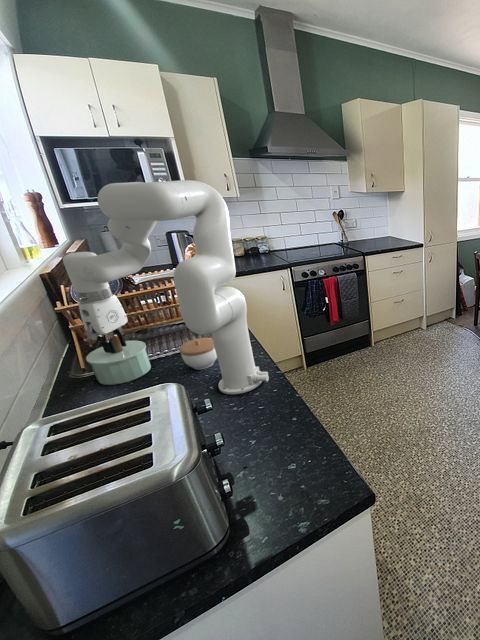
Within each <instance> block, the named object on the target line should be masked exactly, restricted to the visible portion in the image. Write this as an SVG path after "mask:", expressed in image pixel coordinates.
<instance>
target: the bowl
mask: <svg viewBox="0 0 480 640" xmlns="http://www.w3.org/2000/svg"><path fill="white" fill-rule="evenodd" d="M89 365H90V367H91V369H92V373H93V375H94V377H95V378H96V380H97V382H98V383H99V384H102V385H106V386H107V385H109V386H111V385H119V384H124V383H128V382H131V381H134V380H137V379H139V378H141V377H142V376H144V375H146V374H147V373H148V372H149V371H150V370H151V368H152V365H151V360H150V358H149V355H148V352H147V349H145V350H144V351H143V352H142V353H140V354H139V355H137V356H135V357H133V358H130V359H127V360H124V361H121V362H117V363H112V364H105V365H94V364H90V363H89Z"/></svg>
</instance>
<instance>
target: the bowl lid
mask: <svg viewBox="0 0 480 640" xmlns="http://www.w3.org/2000/svg"><path fill="white" fill-rule="evenodd" d="M108 334H109V337H110V341H113V343H114V346H115V348H116V352H115V353H106V352H105V351H104V349H103V346H101V347H98V348H96V349H94V350H93V351H91V352H89V353H88V354H87V355H86V357H85V360H86V362H87V363H88V364H89V365H90V364H94V365H105V364H112V363H117V362H121V361H124V360H127V359H130V358H133V357H135V356H137V355H139V354H140V353H142V352H143V351H144V350H147V344H146V343H145V342H144V341H142V340H125V342H126V346H125V347H123V346H122V344H121V342H120V339H119V337H118V334H113V333H108Z"/></svg>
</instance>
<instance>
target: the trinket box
mask: <svg viewBox="0 0 480 640" xmlns="http://www.w3.org/2000/svg"><path fill="white" fill-rule="evenodd" d="M178 352H179V354H180V356H181V358H182V361H183V362H184V364H185V365H187V366H188V367H190V368H192V369H194V370H199V371H200V370H204V369H208V368H210V367H212V366H213V365H214V364H215V362H216V361H217V360H218V359H217V355H216V351H215V347H214V343H213V339H212V337H201V338H195V339H192V340H188V341H186V342H184V343H182V344H181V345H180V346H179V347H178Z"/></svg>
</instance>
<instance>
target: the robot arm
mask: <svg viewBox="0 0 480 640" xmlns="http://www.w3.org/2000/svg"><path fill="white" fill-rule="evenodd" d="M97 204H98V208H99V209H100V211H101V212H102V214H104V215H105V216H106V217H107V218H109V220H108V222H107V230H108V231H109V233H110V234H111V235H112V236H113V237H115V238H116V239H117V240H119V241H121V242H123V245H122V246H121V247H120V248H119V249H117V250H113V251H107V252H104V253H101V254H96V253H95V252H92V251H77V252H71V253H68V254H66V255H63V257H62V263H63V266H64V268H65V270H66V273H67V275H68V278H69V280H70V283H71V285H72V287H73V290H74V292H75V294H76V297H75V301H76V302H79V303H78V309H79V314H80V318H81V321H82V324H83V327H84V329H85V331H86V335H87V336H86V340H87V341H96V342H98V343H100V344H101V347H103V349H104V351H105V352H106V353H115V352H116V348H115V346H114V343H113V341H110V337H109V334H118V337H119V339H120V342H121V344H122V346H123V347H125V346H126V342H125V341H126V340H125V339H126V338H125V336H124V334H125V331H124V329H125V326H126V324H127V323H128V316H127V314H126V312H125V310H124V307H123V305H122V304H121V302H120V300H119V298H118V297H117V295H115V294H114V293H113V292H112V290H111V287H110V284H109V283H110V282H114V281H117V280H119V279H122V278H125V277H128V276H132V275H134V274H136V273H138V272H140V271H141V270H142V268H144V266H145V265H146V264H147V262H148V260H149V258H150V256H151V254H152V247H151V246H152V245H151V241H150V240H149V237H150V235H151V233H152V232H153V230H154V228H155V227H156V225H157V224H158V222H166V221H173V220H179V219H183V218H188V217H192V216H193V217H195V223H194V226H193V232H192V236H193V237H192V238H193V242H194V248H195V249H194V250H195V255H194V256H191V257H187V258H186V259H184V260H182V261H180V262H179V263H178V264H177V266H176V267H175V269H174V272H173V285H174V288H175V293H176V297H177V302H178V306H179V311H180V314H181V317H182V320H183V323H184V324H185V326H186V327H187V328H188V329H189V330H190V331H191V332H193V333H194V334H197V335H201V336H206V335H210V334H211V338H212V339H213V343H214V347H215V351H216V355H217V359H216V360H217V362H218V366H219V370H220V374H221V379H220V380H219V381H218V385H217V386H218V390H219V391H220V392H221V393H223V394H226V395H241V394H245V393H248V392H250V391H252V390H254V389H256V388H257V387H259V386H260V385H261V384H262V382H269V379H270V376H269V372H268V371H261V370H260V366H256V363H255V358H254V355H253V354H254V353H253V348H252V344H251V339H250V333H249V328H248V319H247V313H248V308H247V301H246V298H245V296H244V294H243V293H242V292H241V291H240V290H239V289H237V288H235V287H232V286H226V285H227V284H230V283H231V282H232V281H233V280H234V279H235V278H236V274H237V273H236V272H237V271H236V270H237V268H236V261H235V255H234V249H233V242H232V237H231V235H232V234H231V228H230V227H231V226H230V215H229V214H230V213H229V209H228V206H227V203H226V201H225V199H224V198H223V196H222V195H221V193H220V192H219V191H217V189H215V188H214V187H213V186H211V185H209V184H207V183H205V182H202V181H199V180H194V179H193V180H191V179H188V180H187V179H181V180H180V179H179V180H168V181H167V180H166V181H151V182H150V181H149V182H144V181H131V182H130V181H129V182H114V183H113V182H112V183H108V184H105V185H104V186H103V187H101V189H100V190H99V192H98V194H97Z"/></svg>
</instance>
